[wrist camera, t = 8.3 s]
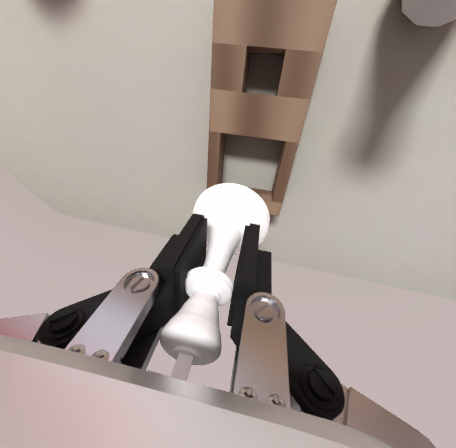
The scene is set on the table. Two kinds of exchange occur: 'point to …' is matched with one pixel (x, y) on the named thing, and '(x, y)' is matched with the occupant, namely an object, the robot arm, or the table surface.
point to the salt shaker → (429, 11)
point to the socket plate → (288, 84)
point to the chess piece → (212, 275)
